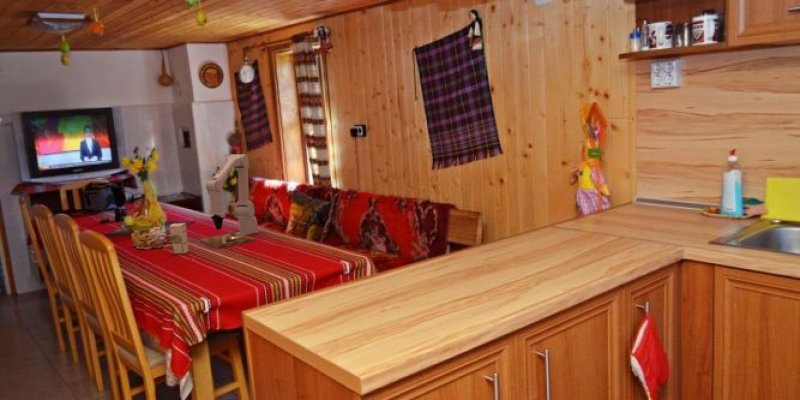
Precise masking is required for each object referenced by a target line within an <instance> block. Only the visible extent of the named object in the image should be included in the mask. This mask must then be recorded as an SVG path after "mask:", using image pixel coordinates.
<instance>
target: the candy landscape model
mask: <svg viewBox="0 0 800 400" xmlns="http://www.w3.org/2000/svg"><path fill="white" fill-rule="evenodd" d="M130 235H131V236H130V237H131V239H132V242H133V243H134V244H133V245H132V247H136V249H138V250H139V249H141V250H142V249H143V250H154V249H163V248H168V247H172V240H171V231H170V229H169V230H168V232H167V230H166V229H165V228H164V229H162V228H161V227H160V226H157V227H156V226H154V227H153V228H150V229H149V230H148V231H147V232H146V231H144V232H142V233H141V231H140V230H134V231H133V232H132V233H131V234H130Z"/></svg>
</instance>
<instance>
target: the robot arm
mask: <svg viewBox="0 0 800 400" xmlns="http://www.w3.org/2000/svg"><path fill="white" fill-rule="evenodd" d="M249 159H250V158H249V156H248V154H246V153H243V154H242V153H241V154H239V153H237V154H232V153H231V154H228V156H227V157H226V162H225V164H224V166H223V168H222V169H221V170H217V172H216V173H215V174H214V176H213V178H212V179H210V180H208V181H207V182H206V186H205V189H206V191H207V194H208V195H209V204H210V210H209V213H208V214H209V215H212V216H210V218H211V220H212V221H213V224H214V226H215V230H217V231H218V230H219V231H220V230H222V226H223V222H224V219H225V218H226V213H225V212H224V209H223V201H222V200H223V199H222V190H223V187H224V183H225V182H226V181H227V179H228V178H229V175H228V174H229V173H230V172H231V171H232V170H233V169H234V170H235V171H237V176H238V177H237V178H238V179H237V183H238V185H237V187H238V201H237V202H235V204H234V209H233V210H234V211H233V213H234V216H235V217H236V219H237V221H238V228H239V229H238V230H239V232H238V231H237V232H236V233H239V234H242V235H245V236H247V235H252V234H256V233H259V230H258V229H259V228H258V220H257V217H256V216H255V211H256V210H255V207H254V202H252V201H251V200H250V199H249V198H250V197H249V170H250V160H249Z"/></svg>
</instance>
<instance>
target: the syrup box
mask: <svg viewBox="0 0 800 400" xmlns="http://www.w3.org/2000/svg"><path fill="white" fill-rule="evenodd" d="M169 230H170V231H171V240H172V246H171V247H172V248H171V249H172V254H173V255H182V254H183V255H184V254H186V253H188V252H189V245H188V235H187V226H186V222H179V223H178V222H177V223H175V222H174V223H172V224H170V225H169Z"/></svg>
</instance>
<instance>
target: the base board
mask: <svg viewBox="0 0 800 400" xmlns="http://www.w3.org/2000/svg"><path fill="white" fill-rule="evenodd" d="M234 232H235V231H234ZM226 234H227V233H226ZM226 234H221V235H216V236H211V237H204V238H200V239H199V242H200V243H202V244H205V245H207V246H210V247H213V248H215V249H222V248H228V247H232V246H236V245H237V246H238V245H241V244H246V243H247V244H248V243H252V242H255V238H254V237H251V236H247V235H243V238H241V239H239V240H233V241H232V242H227V243H226V244H222V240H221V236H224V235H226ZM235 234H239V233H237V232H235Z"/></svg>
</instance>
